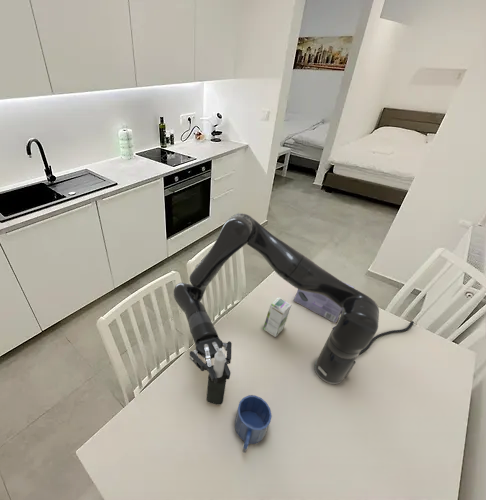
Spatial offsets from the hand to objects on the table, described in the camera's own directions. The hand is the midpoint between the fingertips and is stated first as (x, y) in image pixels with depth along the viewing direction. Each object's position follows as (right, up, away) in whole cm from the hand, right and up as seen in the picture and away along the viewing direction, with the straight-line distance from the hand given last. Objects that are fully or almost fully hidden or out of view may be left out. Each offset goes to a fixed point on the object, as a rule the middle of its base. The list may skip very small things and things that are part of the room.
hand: (222, 379), depth 78 cm
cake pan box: (+45, +10, +43) cm, 63 cm away
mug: (+8, -18, +5) cm, 20 cm away
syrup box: (+24, +4, +34) cm, 42 cm away
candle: (-1, -10, +11) cm, 15 cm away
